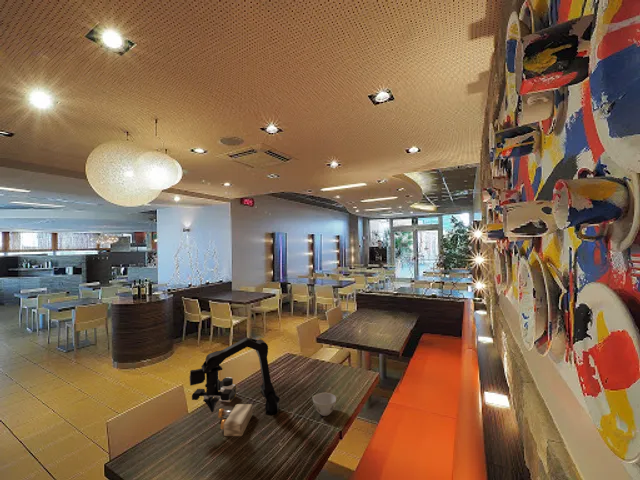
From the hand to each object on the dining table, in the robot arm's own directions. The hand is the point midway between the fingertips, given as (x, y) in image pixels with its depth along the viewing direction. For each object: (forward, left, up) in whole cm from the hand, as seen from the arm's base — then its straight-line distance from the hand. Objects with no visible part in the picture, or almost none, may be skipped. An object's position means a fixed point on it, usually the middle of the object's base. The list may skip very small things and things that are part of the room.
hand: (212, 411), depth 140 cm
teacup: (-54, -17, -9) cm, 57 cm away
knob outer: (-10, 0, -8) cm, 13 cm away
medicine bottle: (+4, -29, -9) cm, 30 cm away
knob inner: (-5, -9, -8) cm, 13 cm away
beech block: (-11, -5, -9) cm, 15 cm away
